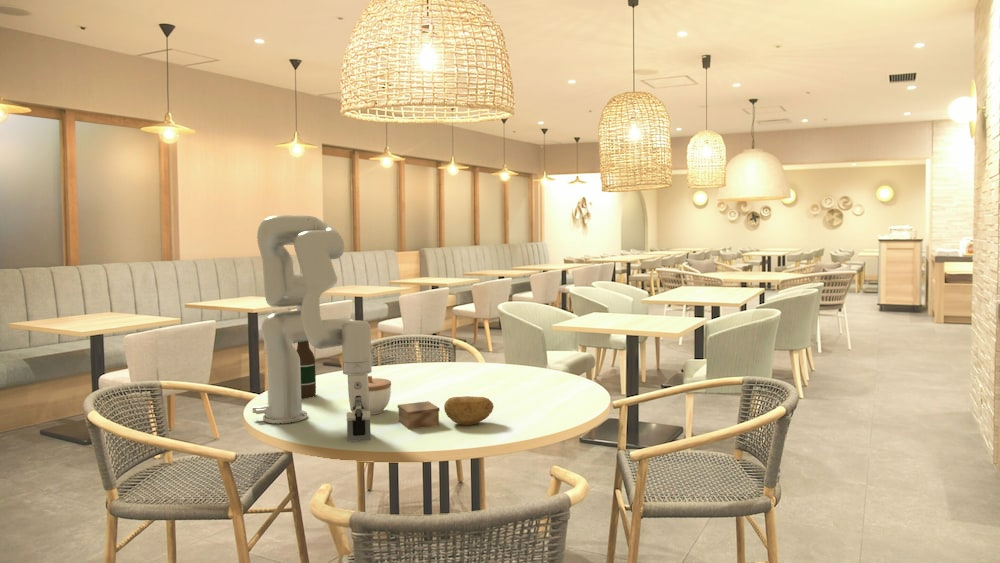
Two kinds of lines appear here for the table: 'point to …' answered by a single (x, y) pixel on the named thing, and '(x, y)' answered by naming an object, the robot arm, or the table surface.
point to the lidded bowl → (378, 394)
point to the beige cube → (350, 427)
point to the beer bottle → (307, 370)
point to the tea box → (418, 415)
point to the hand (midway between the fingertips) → (359, 430)
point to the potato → (468, 409)
